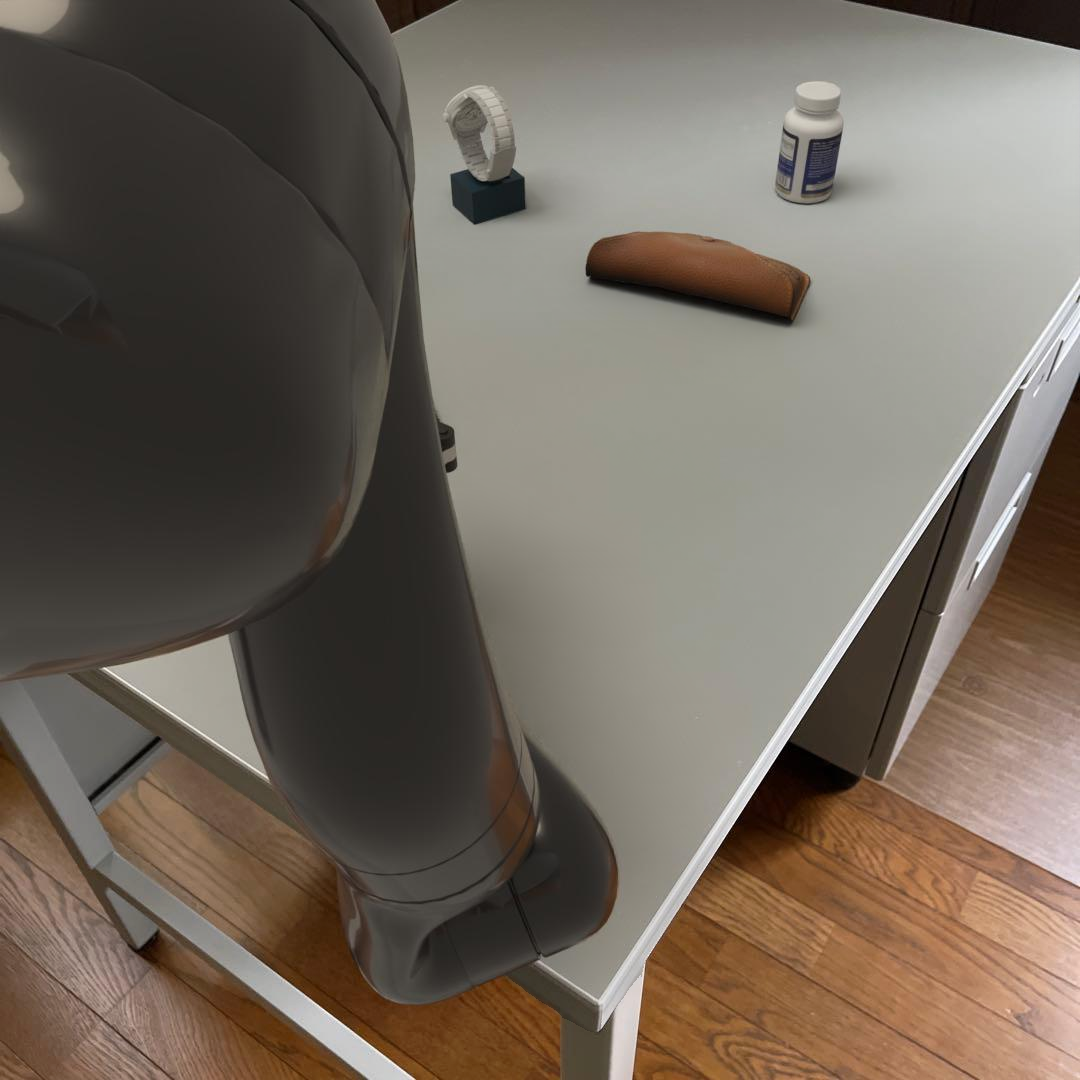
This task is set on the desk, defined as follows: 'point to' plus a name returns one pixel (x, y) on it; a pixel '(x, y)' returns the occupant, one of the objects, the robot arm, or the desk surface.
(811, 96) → the pill bottle
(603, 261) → the sunglasses case
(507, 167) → the watch
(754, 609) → the desk surface
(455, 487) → the desk surface
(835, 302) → the desk surface
